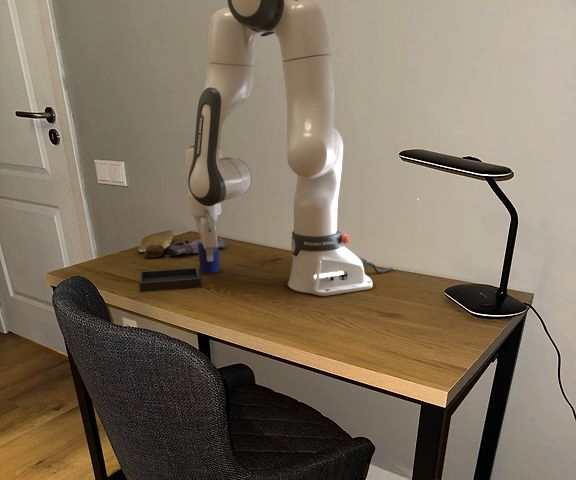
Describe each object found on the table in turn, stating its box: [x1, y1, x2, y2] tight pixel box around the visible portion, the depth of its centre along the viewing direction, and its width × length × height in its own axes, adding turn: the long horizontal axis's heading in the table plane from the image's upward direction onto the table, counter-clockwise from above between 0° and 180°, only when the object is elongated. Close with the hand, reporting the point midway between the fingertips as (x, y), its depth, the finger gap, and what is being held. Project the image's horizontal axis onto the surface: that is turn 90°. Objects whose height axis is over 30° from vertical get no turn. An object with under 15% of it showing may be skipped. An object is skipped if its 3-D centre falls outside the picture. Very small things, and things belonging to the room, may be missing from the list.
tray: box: [139, 267, 202, 292], centre depth 155 cm, size 16×10×2 cm, turn 103°
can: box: [197, 238, 221, 275], centre depth 163 cm, size 6×6×9 cm
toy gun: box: [166, 237, 226, 257], centre depth 184 cm, size 4×20×10 cm
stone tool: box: [137, 229, 175, 259], centre depth 187 cm, size 12×4×25 cm
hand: (208, 257), depth 163 cm, fingers closed on can, 5 cm apart
